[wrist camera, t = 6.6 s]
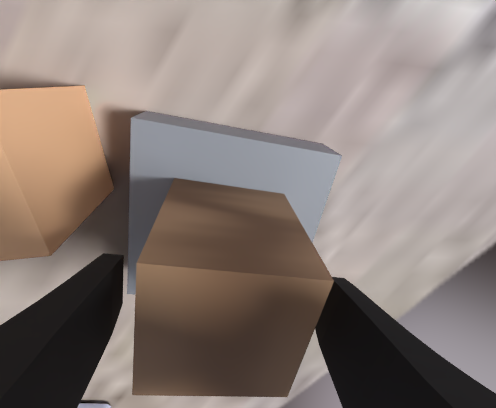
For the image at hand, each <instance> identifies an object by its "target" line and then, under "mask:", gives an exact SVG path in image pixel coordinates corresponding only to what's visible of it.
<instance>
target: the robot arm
mask: <svg viewBox="0 0 496 408" xmlns="http://www.w3.org/2000/svg"><path fill="white" fill-rule="evenodd" d="M123 259H124V256H123V255H113V254H102V255H101V256H99V257H98V258H97V259H95V260H94V261H92V262H91V263H90V264H88V265H87V266H86V267H84V268H83V269H82V270H80V271H79V272H78V273H76V274H75V275H74V276H72V277H71V278H70V279H68V280H67V281H65V282H64V283H63V284H61V285H60V286H58V287H57V288H56V289H54V290H53V291H51V292H50V293H48V294H47V295H46V296H44V297H43V298H41V299H40V300H38V301H37V302H35V303H34V304H32V305H31V306H29V307H28V308H26V309H25V310H23V311H22V312H20V313H19V314H17V315H16V316H14V317H13V318H11V319H9V320H8V321H6V322H5V323H3V324H2V325H0V408H111V406H110V405H108V404H94V403H80V401H81V399H82V397H83V395H84V393H85V391H86V388H87V386H88V384H89V382H90V380H91V378H92V376H93V374H94V372H95V369H96V367H97V365H98V363H99V361H100V359H101V357H102V355H103V353H104V350H105V348H106V346H107V344H108V342H109V340H110V337H111V335H112V333H113V330H114V327H115V324H116V321H117V319H118V316H119V313H120V310H121V307H122V303H123ZM332 278H333V280H334V282H333V285H332V287H331V290H330V292H329V295H328V297H327V300H326V302H325V305H324V307H323V310H322V312H321V315H320V317H319V320H318V322H317V325H316V327H315V330H316V334H317V338H318V342H319V346H320V348H321V351H322V354H323V357H324V359H325V362H326V365H327V367H328V370H329V373H330V375H331V378H332V381H333V383H334V386H335V388H336V391H337V394H338V396H339V399H340V402H341V404H342V407H343V408H496V394H495V393H494V392H492V391H491V390H489V389H488V388H486V387H485V386H483V385H482V384H480V383H479V382H477V381H476V380H474V379H473V378H471V377H470V376H468V375H467V374H465V373H464V372H463V371H461V370H459V369H458V368H457V367H455V366H454V365H453V364H451V363H450V362H448V361H447V360H445V359H444V358H443V357H441V356H440V355H438V354H437V353H436V352H435V351H433V350H432V349H431V348H429V347H428V346H427V345H426V344H424V343H423V342H422V341H420V340H419V339H418V338H416V337H415V336H414V335H412V334H411V333H410V332H409V331H408V330H406V329H405V328H404V327H403V326H402V325H400V324H399V323H398V322H397V321H396V320H394V319H393V318H392V317H391V316H390V315H388V314H387V313H386V312H385V311H384V310H382V309H381V308H380V307H379V306H378V305H377V304H375V303H374V302H373V301H372V300H371V299H370V298H368V297H367V296H366V295H365V294H364V293H362V292H361V291H360V290H359V289H358V288H356V287H355V286H354V285H353V284H351V283H350V282H349V281H347V280H346V279H345V278H337V277H332Z"/></svg>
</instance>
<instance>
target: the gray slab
mask: <svg viewBox="0 0 496 408" xmlns="http://www.w3.org/2000/svg"><path fill="white" fill-rule="evenodd" d="M341 157H342V155H340V154H338V153H337V152H335V151H334V150H332V149H330V148H329V147H327V146H326V145H324V144H321V143H316V142H311V141H305V140H300V139H294V138H289V137H284V136H278V135H273V134H268V133H262V132H257V131H252V130H246V129H241V128H235V127H230V126H225V125H219V124H214V123H209V122H203V121H198V120H192V119H187V118H182V117H176V116H171V115H166V114H160V113H155V112H150V111H145V112H143V113H140V114H138V115H136V116H133V117H131V138H130V187H129V235H128V284H127V294H136V266H137V261H138V259H139V257H140V254H141V252H142V250H143V247H144V245H145V243H146V241H147V238H148V236H149V234H150V232H151V229H152V227H153V225H154V223H155V220H156V218H157V216H158V214H159V211H160V209H161V207H162V205H163V202H164V200H165V198H166V196H167V193H168V191H169V189H170V187H171V184H172V182H173V180H174V178H179V179H185V180H192V181H199V182H206V183H213V184H220V185H227V186H234V187H241V188H247V189H254V190H261V191H268V192H275V193H282V194H285V196H286V198H287V200H288V201H289V203H290V205H291V207H292V208H293V210H294V212H295V214H296V215H297V217H298V219H299V221H300V222H301V224H302V226H303V228H304V229H305V231H306V233H307V235H308V236H309V238H310V240H311V242H313V239H314V236H315V234H316V231H317V228H318V225H319V222H320V219H321V216H322V213H323V210H324V207H325V204H326V201H327V198H328V196H329V193H330V190H331V187H332V184H333V181H334V178H335V175H336V172H337V169H338V166H339V163H340V160H341Z"/></svg>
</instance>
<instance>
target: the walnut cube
mask: <svg viewBox="0 0 496 408" xmlns="http://www.w3.org/2000/svg"><path fill="white" fill-rule="evenodd" d="M333 282H334V280H333V278H332V277H331V275H330V273H329V271H328V270H327V268H326V266H325V264H324V263H323V261H322V259H321V257H320V256H319V254H318V252H317V250H316V249H315V247H314V245H313V243H312V242H311V240H310V238H309V236H308V235H307V233H306V231H305V229H304V228H303V226H302V224H301V222H300V221H299V219H298V217H297V215H296V214H295V212H294V210H293V208H292V207H291V205H290V203H289V201H288V200H287V198H286V196H285V194H282V193H275V192H268V191H261V190H254V189H247V188H241V187H234V186H227V185H220V184H213V183H206V182H199V181H192V180H185V179H179V178H174V180H173V182H172V184H171V187H170V189H169V191H168V193H167V196H166V198H165V200H164V202H163V205H162V207H161V209H160V211H159V214H158V216H157V218H156V220H155V223H154V225H153V227H152V229H151V232H150V234H149V236H148V238H147V241H146V243H145V245H144V247H143V250H142V252H141V254H140V257H139V259H138V261H137V266H136V297H135V327H134V358H133V389H132V395H164V396H248V397H287V396H288V394H289V391H290V389H291V387H292V384H293V382H294V379H295V377H296V374H297V372H298V369H299V367H300V364H301V362H302V359H303V357H304V354H305V352H306V349H307V347H308V344H309V342H310V339H311V337H312V334H313V332H314V329H315V327H316V325H317V322H318V320H319V317H320V315H321V312H322V310H323V307H324V305H325V302H326V300H327V297H328V295H329V292H330V290H331V287H332V285H333Z"/></svg>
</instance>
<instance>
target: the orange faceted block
mask: <svg viewBox="0 0 496 408" xmlns="http://www.w3.org/2000/svg"><path fill="white" fill-rule="evenodd" d="M113 190H114V186H113V183H112V179H111V176H110V172H109V169H108V165H107V162H106V159H105V155H104V152H103V148H102V145H101V141H100V138H99V134H98V131H97V127H96V124H95V121H94V117H93V114H92V110H91V107H90V103H89V100H88V96H87V93H86V89H85V86H67V87H45V88H24V89H3V90H0V261H4V260H14V259H24V258H34V257H43V256H51V255H52V254H53V253H54V252H55V251H56V250H57V249H58V248H59V247H60V246H61V244H62V243H63V242H64V241H65V240H66V239H67V238H68V237H69V236H70V235H71V234H72V233H73V232H74V231H75V230H76V229H77V228H78V227H79V226H80V225H81V223H82V222H83V221H84V220H85V219H86V218H87V217H88V216H89V215H90V214H91V213H92V212H93V211H94V210H95V209H96V208H97V207H98V206H99V205H100V204H101V202H102V201H103V200H104V199H105V198H106V197H107V196H108V195H109V194H110V193H111V192H112V191H113Z"/></svg>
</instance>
